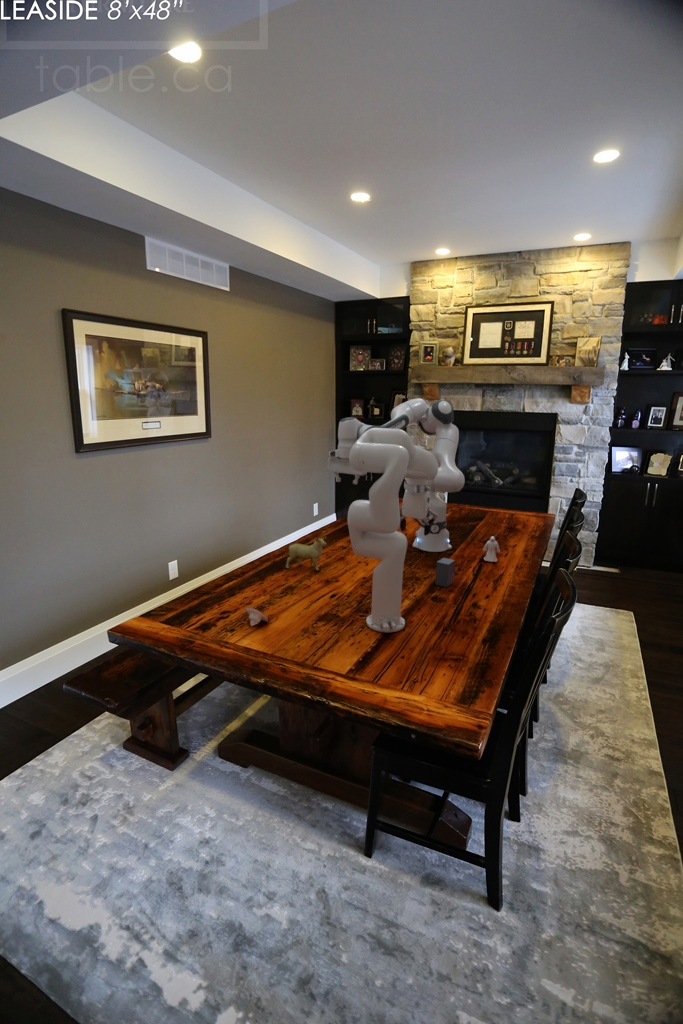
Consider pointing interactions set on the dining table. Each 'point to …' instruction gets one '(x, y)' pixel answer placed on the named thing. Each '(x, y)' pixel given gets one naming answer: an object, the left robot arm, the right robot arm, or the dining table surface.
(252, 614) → the seashell
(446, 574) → the brick
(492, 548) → the figurine
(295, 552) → the toy
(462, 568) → the dining table surface
